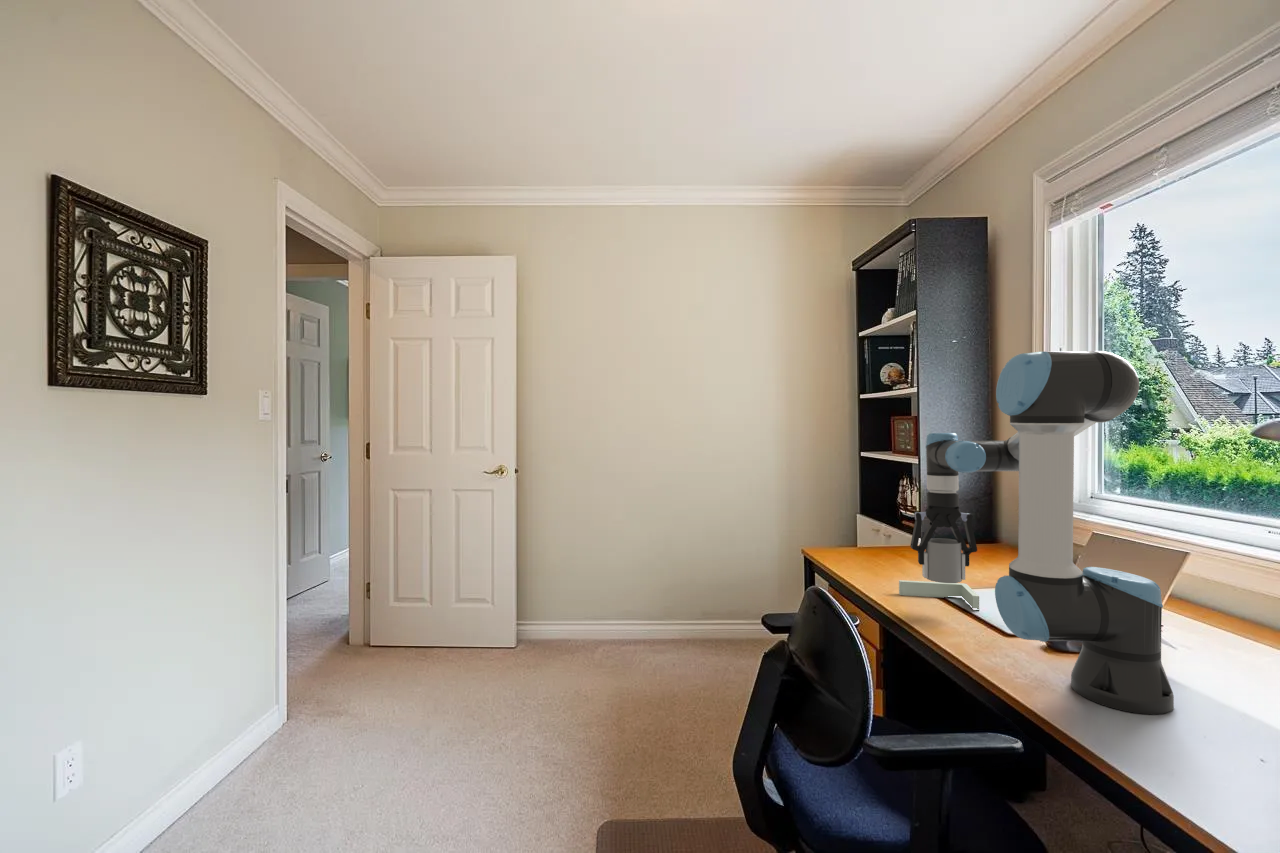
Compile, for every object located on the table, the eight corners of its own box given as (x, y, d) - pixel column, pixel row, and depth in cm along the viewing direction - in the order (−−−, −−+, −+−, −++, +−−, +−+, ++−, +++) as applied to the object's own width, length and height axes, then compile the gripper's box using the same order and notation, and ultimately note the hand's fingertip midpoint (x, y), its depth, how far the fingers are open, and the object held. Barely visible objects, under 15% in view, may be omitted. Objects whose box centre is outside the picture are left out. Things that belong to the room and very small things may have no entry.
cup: (925, 581, 157) (924, 542, 157) (926, 574, 165) (926, 537, 165) (961, 584, 153) (961, 545, 153) (961, 577, 161) (961, 539, 161)
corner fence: (979, 611, 163) (979, 596, 162) (907, 606, 167) (907, 592, 167) (965, 597, 175) (965, 583, 174) (899, 593, 179) (898, 580, 179)
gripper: (982, 490, 160) (983, 576, 160) (897, 489, 165) (898, 572, 165) (991, 493, 153) (992, 583, 153) (902, 492, 158) (903, 579, 158)
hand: (943, 577), depth 159 cm, fingers closed on cup, 8 cm apart
